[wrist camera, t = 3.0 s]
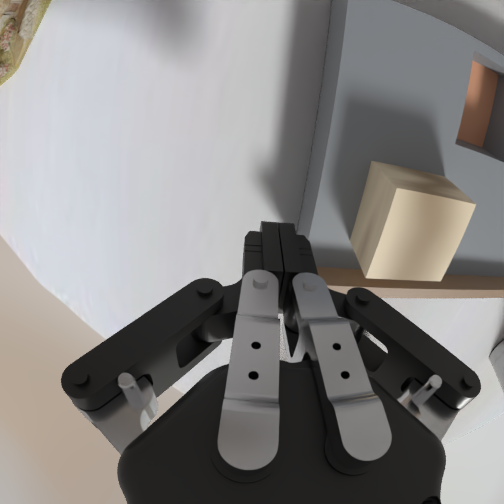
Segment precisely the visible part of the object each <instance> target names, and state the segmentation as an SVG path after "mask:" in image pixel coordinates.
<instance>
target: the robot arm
mask: <svg viewBox="0 0 504 504" xmlns="http://www.w3.org/2000/svg"><path fill="white" fill-rule="evenodd" d="M278 313H283V316H284V320H283V324H282V332H283V338H284V343H285V349H286V354H287V360H288V362H286V361H282V360H279V359H280V319H278ZM366 330H367V331H368V332H369V333H370V334H372V335H373V336H374V337H375V338H376V339H378V340H379V341H380V342H381V343H383V344H384V345H385V346H386V348H387V350H388V353H386V352H384V351H383V350H382V349H381V348H380V347H378V346H377V345H376V344H375V343H374V342H372V341H371V340H370V339H369V338H367V337H366V336H365V335H364V333H365V331H366ZM229 338H233V342H232V348H231V355H230V362H229V364H227V365H223V366H221V367H218V368H216V369H214V370H212V371H211V372H209V373H208V374H206V375H205V376H204V377H203V378H202V379H201V380H200V381H199V382H197V383H196V384H195V385H194V386H193V387H192V388H191V389H190V390H189V391H188V392H187V393H186V394H185V395H184V396H182V397H181V398H180V399H179V400H178V401H177V402H176V403H175V404H174V405H173V406H172V407H170V408H169V409H168V410H167V411H166V412H165V413H164V414H163V415H162V416H161V417H159V419H157V420H156V421H155V422H154V423H153V424H152V425H150V426H149V427H148V425H149V423H150V421H151V420H152V419H153V418H154V417H155V415H156V414H157V411H158V401H157V397H158V396H159V395H161V394H162V393H163V392H164V391H165V390H167V389H168V388H169V387H170V386H172V385H173V384H174V383H175V382H176V381H178V380H179V379H180V378H181V377H182V376H184V375H185V374H186V373H187V372H188V371H190V370H191V369H192V368H193V367H194V366H195V365H197V364H198V363H199V362H200V361H201V360H203V359H204V358H205V357H206V356H207V355H208V354H210V353H211V352H212V351H213V350H214V349H215V348H217V347H218V346H219V345H220V344H221V342H222V340H224V339H229ZM490 361H491V364H492V366H493V368H494V370H495V373H496V375H497V377H498V380H499V382H500V384H501V387H502V389H503V392H504V340H503V341H502V342H501V343H500V344H499V345H498V346H497V347H496V348H495V349H494V350H493V352H492V353H491V355H490ZM61 383H62V388H63V390H64V391H65V392H66V394H67V395H68V396H69V397H70V399H71V400H72V402H73V404H74V405H75V406H76V407H77V409H78V410H79V411H80V412H81V413H82V414H83V415H84V416H85V418H87V419H88V420H89V421H90V422H91V423H92V424H93V425H94V426H95V427H96V428H98V429H99V430H100V431H101V432H102V433H103V435H104V436H105V437H106V438H107V439H108V441H109V442H110V443H111V444H112V445H113V446H114V447H115V448H116V450H117V451H118V452H119V453H120V454H121V457H120V459H119V463H118V472H117V473H118V481H119V484H120V487H121V489H122V491H123V494H124V496H125V498H126V501H127V504H441V501H440V490H441V483H442V477H443V474H444V470H445V465H446V455H445V450H444V447H443V445H442V443H441V440H442V438H443V437H444V435H445V433H446V432H447V430H448V428H449V427H450V425H451V423H452V422H453V420H454V418H455V417H456V415H457V413H458V412H459V411H460V410H461V409H462V408H464V407H465V406H466V405H467V404H468V403H469V402H471V401H472V400H473V399H474V398H475V397H476V396H477V395H478V394H479V392H480V389H481V383H480V380H479V378H478V376H477V374H476V373H475V372H474V371H473V370H471V369H470V368H469V367H468V366H467V365H465V364H464V363H463V362H462V361H460V360H459V359H458V358H457V357H455V356H454V355H453V354H452V353H450V352H449V351H448V350H447V349H445V348H444V347H443V346H442V345H440V344H439V343H438V342H437V341H435V340H434V339H433V338H432V337H430V336H429V335H428V334H426V333H425V332H424V331H423V330H421V329H420V328H419V327H417V326H416V325H415V324H414V323H412V322H411V321H410V320H408V319H407V318H406V317H404V316H403V315H402V314H401V313H399V312H398V311H397V310H395V309H394V308H393V307H391V306H390V305H389V304H387V303H386V302H385V301H383V300H382V299H381V298H379V297H378V296H377V295H375V294H374V293H373V292H371V291H370V290H368V289H365V288H362V287H354V288H351V289H350V290H348V292H347V294H344V293H340V292H337V291H334V290H331V289H329V288H328V287H327V284H326V282H325V281H324V280H323V279H322V278H321V277H320V276H318V272H317V268H316V264H315V260H314V256H313V252H312V248H311V244H310V241H309V240H308V239H307V238H306V237H305V236H304V235H298V234H296V232H295V228H294V224H291V223H279V222H278V223H277V222H265V221H261V226H260V232H257V231H249V232H248V234H247V235H246V236H245V242H244V253H243V268H242V279H241V280H240V281H238V282H237V283H235V284H233V285H229V286H224V287H223V286H222V285H221V284H220V283H219V282H218V281H216V280H213V279H209V278H202V279H197V280H194V281H193V282H191V283H190V284H188V285H187V286H185V287H184V288H182V289H181V290H179V291H178V292H176V293H175V294H173V295H172V296H170V297H169V298H167V299H166V300H164V301H163V302H161V303H160V304H158V305H157V306H155V307H154V308H152V309H151V310H149V311H148V312H146V313H145V314H144V315H142V316H141V317H139V318H138V319H136V320H135V321H133V322H132V323H130V324H129V325H127V326H126V327H124V328H123V329H121V330H120V331H118V332H117V333H116V334H114V335H113V336H111V337H110V338H108V339H107V340H105V341H104V342H102V343H101V344H100V345H98V346H96V347H95V348H94V349H92V350H91V351H89V352H88V353H86V354H85V355H83V356H82V357H80V358H79V359H78V360H76V361H75V362H73V363H72V364H70V365H69V366H68V367H67V368H66V369H65V370H64V372H63V374H62V378H61Z"/></svg>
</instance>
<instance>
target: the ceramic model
mask: <svg viewBox="0 0 504 504" xmlns="http://www.w3.org/2000/svg"><path fill="white" fill-rule="evenodd" d="M50 2H51V0H0V86H1V85H2V84H3V83H4V82H5V81H6V80H8V79H9V78H10V77H11V76H12V75H13V74H14V73H15V72H16V71H17V69H18V68H19V66H20V64H21V62H22V60H23V57H24V55H25V53H26V51H27V49H28V47H29V45H30V43H31V41H32V39H33V37H34V35H35V33H36V31H37V29H38V27H39V25H40V23H41V21H42V19H43V17H44V15H45V12H46V10H47V8H48V6H49V4H50Z"/></svg>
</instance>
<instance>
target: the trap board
mask: <svg viewBox="0 0 504 504" xmlns="http://www.w3.org/2000/svg"><path fill="white" fill-rule="evenodd" d="M371 161H375V162H381V163H386V164H391V165H396V166H401V167H405V168H410V169H415V170H419V171H423V172H428V173H432V174H436V175H440V176H444V177H446V178H447V179H448V180H450V181H451V182H452V183H453V184H454V185H455V186H456V187H458V188H459V189H460V190H461V191H462V192H463V193H464V194H465V195H466V196H468V197H469V198H470V199H471V200H472V201H473V202H474V203H475V204H476V206H475V209H474V211H473V214H472V216H471V219H470V221H469V223H468V226H467V228H466V230H465V233H464V235H463V237H462V239H461V241H460V244H459V246H458V248H457V250H456V252H455V254H454V256H453V258H452V260H451V262H450V264H449V266H448V268H447V270H446V272H445V274H444V276H443V278H442V280H441V281H415V280H392V279H371V278H365V276H364V274H363V271H362V269H361V266H360V264H359V261H358V259H357V257H356V254H355V252H354V249H353V247H352V245H351V242H350V238H351V235H352V232H353V228H354V225H355V221H356V218H357V214H358V211H359V207H360V204H361V200H362V196H363V192H364V189H365V185H366V181H367V177H368V173H369V169H370V165H371ZM297 234H298V235H304V236H305V237H306V238H307V239H308V240H309V241H310V244H311V248H312V252H313V256H314V260H315V264H316V268H317V272H318V276H320V277H321V278H322V279H323V280H324V281H325V282H326V284H327V287H328V288H329V289H331V290H334V291H337V292H340V293H344V294H347V292H348V290H350V289H351V288H354V287H362V288H365V289H368V290H370V291H371V292H373V293H374V294H375V295H377V296H378V297H379V298H502V297H504V55H503V54H501V53H499V52H498V51H496V50H495V49H493V48H492V47H490V46H488V45H487V44H485V43H483V42H482V41H480V40H478V39H476V38H475V37H473V36H471V35H469V34H467V33H466V32H464V31H462V30H460V29H458V28H456V27H454V26H452V25H450V24H448V23H446V22H444V21H442V20H439V19H437V18H435V17H433V16H431V15H428V14H426V13H424V12H421V11H419V10H416V9H414V8H411V7H409V6H406V5H404V4H401V3H398V2H395V1H392V0H332V4H331V14H330V23H329V31H328V40H327V48H326V56H325V64H324V71H323V78H322V86H321V93H320V100H319V106H318V113H317V120H316V126H315V132H314V139H313V145H312V151H311V157H310V163H309V169H308V175H307V180H306V186H305V192H304V197H303V203H302V208H301V213H300V219H299V224H298V229H297Z"/></svg>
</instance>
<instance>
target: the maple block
mask: <svg viewBox="0 0 504 504" xmlns="http://www.w3.org/2000/svg"><path fill="white" fill-rule="evenodd" d="M475 206H476V204H475V203H474V202H473V201H472V200H471V199H470V198H469V197H468V196H466V195H465V194H464V193H463V192H462V191H461V190H460V189H459V188H458V187H456V186H455V185H454V184H453V183H452V182H451V181H450V180H448V179H447V178H446V177H444V176H440V175H436V174H432V173H428V172H423V171H419V170H415V169H410V168H405V167H401V166H396V165H391V164H386V163H381V162H375V161H371V165H370V169H369V173H368V177H367V181H366V185H365V189H364V192H363V196H362V200H361V204H360V207H359V211H358V214H357V218H356V221H355V225H354V228H353V232H352V235H351V238H350V242H351V245H352V247H353V249H354V252H355V254H356V257H357V259H358V261H359V264H360V266H361V269H362V271H363V274H364V276H365V278H371V279H392V280H415V281H441V280H442V278H443V276H444V274H445V272H446V270H447V268H448V266H449V264H450V262H451V260H452V258H453V256H454V254H455V252H456V250H457V248H458V246H459V244H460V241H461V239H462V237H463V235H464V233H465V230H466V228H467V226H468V223H469V221H470V219H471V216H472V214H473V211H474V209H475Z"/></svg>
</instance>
